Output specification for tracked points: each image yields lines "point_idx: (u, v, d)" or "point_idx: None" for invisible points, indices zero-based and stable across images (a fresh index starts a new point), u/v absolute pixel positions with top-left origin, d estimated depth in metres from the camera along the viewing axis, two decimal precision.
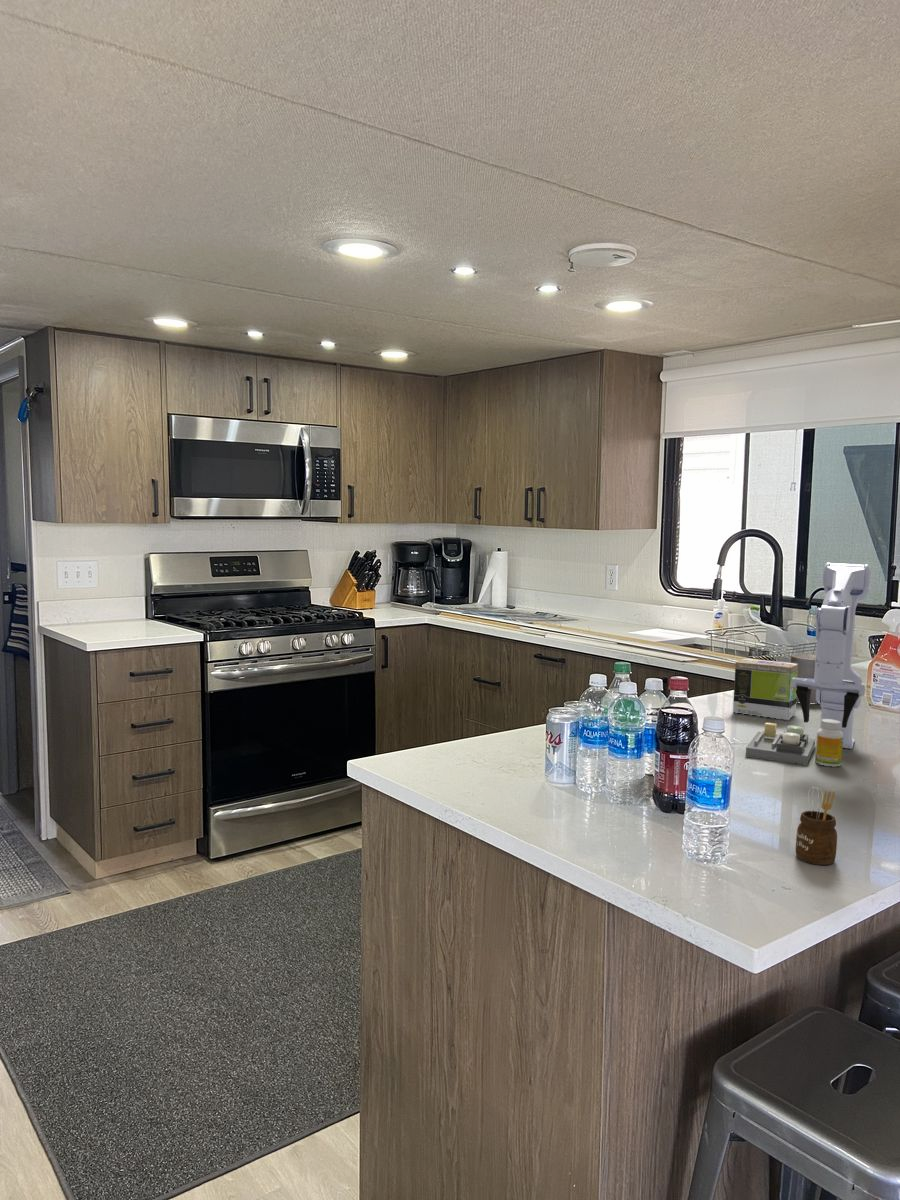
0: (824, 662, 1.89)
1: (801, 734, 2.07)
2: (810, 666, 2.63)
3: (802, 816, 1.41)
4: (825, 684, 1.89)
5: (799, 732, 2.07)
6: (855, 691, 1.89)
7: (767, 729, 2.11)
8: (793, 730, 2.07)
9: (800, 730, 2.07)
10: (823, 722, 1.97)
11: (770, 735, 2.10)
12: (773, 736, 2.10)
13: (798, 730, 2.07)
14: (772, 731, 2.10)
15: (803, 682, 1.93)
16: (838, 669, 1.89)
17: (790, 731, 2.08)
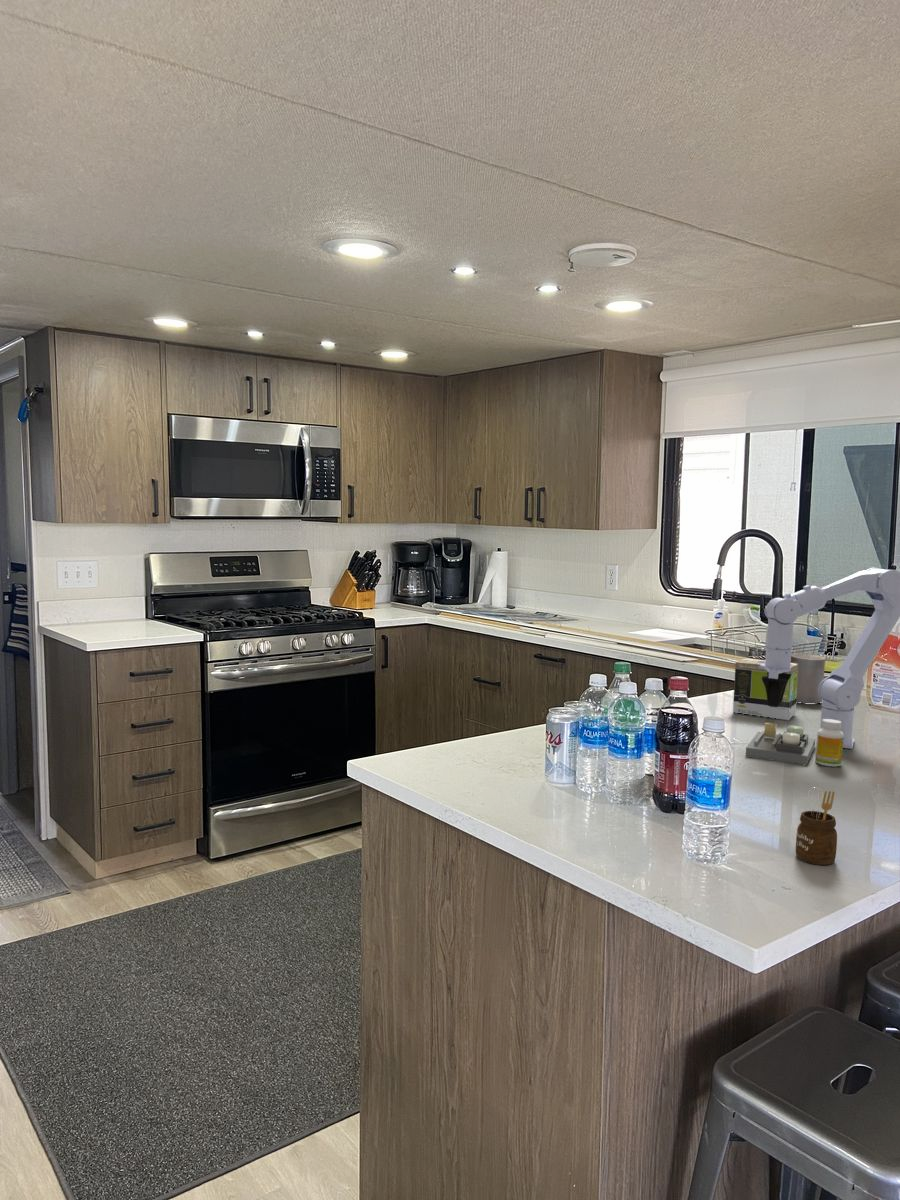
0: None
1: (801, 734, 2.07)
2: (810, 666, 2.63)
3: (802, 816, 1.41)
4: (762, 664, 2.16)
5: (799, 732, 2.07)
6: None
7: (767, 729, 2.11)
8: (793, 730, 2.07)
9: (800, 730, 2.07)
10: (824, 722, 1.97)
11: (770, 735, 2.10)
12: (773, 736, 2.10)
13: (798, 730, 2.07)
14: (772, 731, 2.10)
15: None
16: (768, 653, 2.13)
17: (790, 731, 2.08)
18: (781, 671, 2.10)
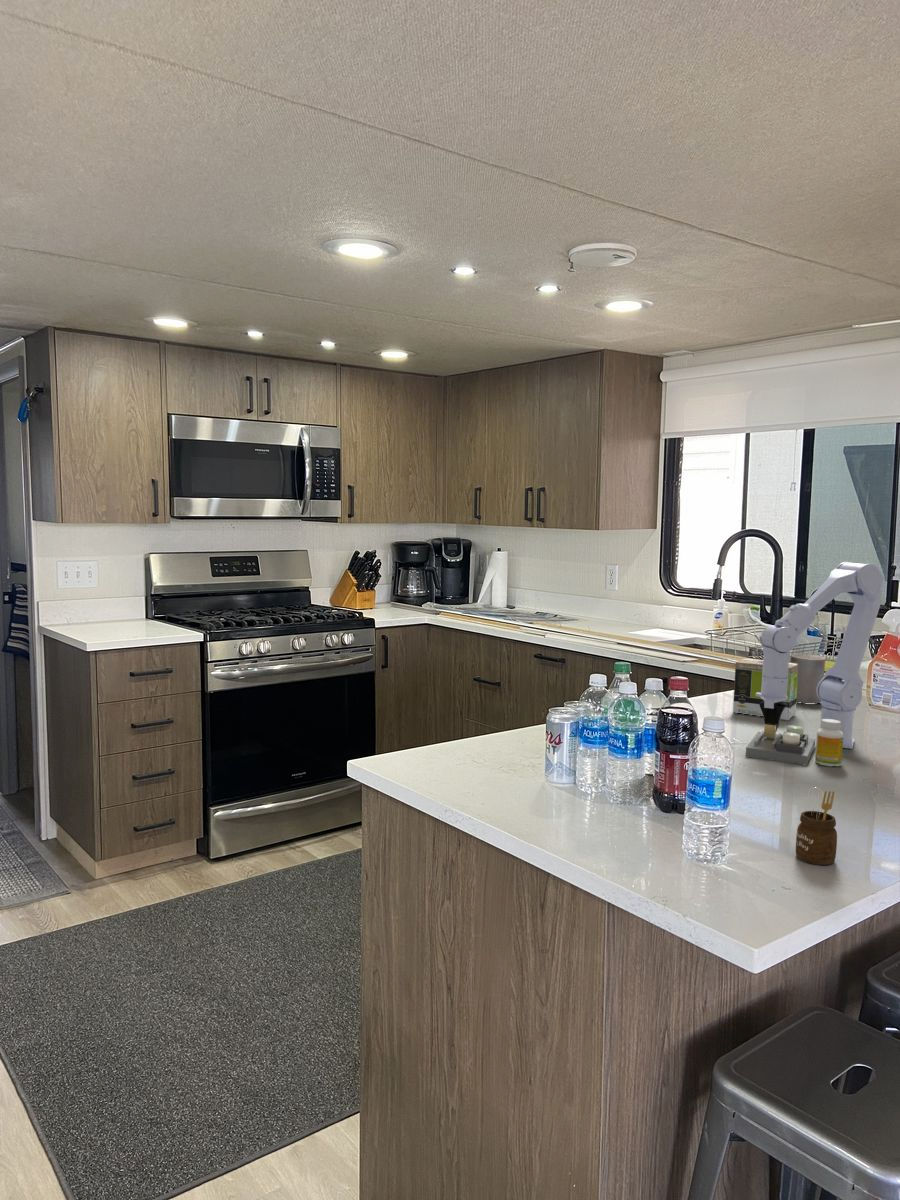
0: None
1: (801, 734, 2.07)
2: (810, 666, 2.63)
3: (802, 816, 1.41)
4: (758, 693, 2.14)
5: (799, 732, 2.07)
6: None
7: (767, 730, 2.10)
8: (793, 730, 2.07)
9: (800, 730, 2.07)
10: (823, 722, 1.97)
11: (770, 735, 2.10)
12: (773, 736, 2.10)
13: (798, 730, 2.07)
14: (771, 731, 2.10)
15: None
16: (764, 681, 2.11)
17: (790, 731, 2.08)
18: (777, 700, 2.07)
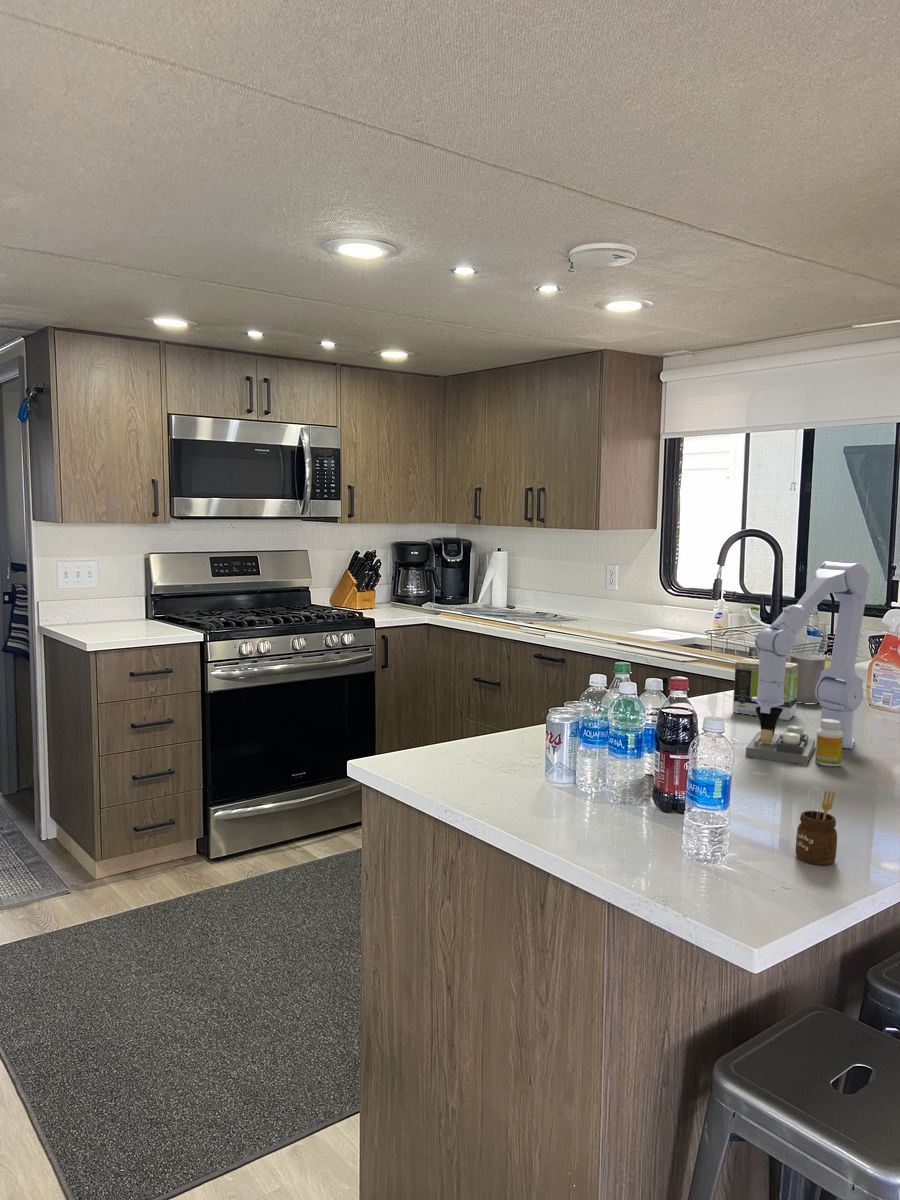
0: None
1: (801, 734, 2.07)
2: (810, 666, 2.63)
3: (802, 816, 1.41)
4: (754, 697, 2.08)
5: (799, 732, 2.07)
6: None
7: (763, 735, 2.05)
8: (793, 730, 2.07)
9: (800, 730, 2.07)
10: (823, 722, 1.97)
11: (766, 741, 2.05)
12: (769, 742, 2.05)
13: (798, 730, 2.07)
14: (768, 736, 2.05)
15: None
16: (760, 685, 2.05)
17: (790, 731, 2.08)
18: (773, 705, 2.02)
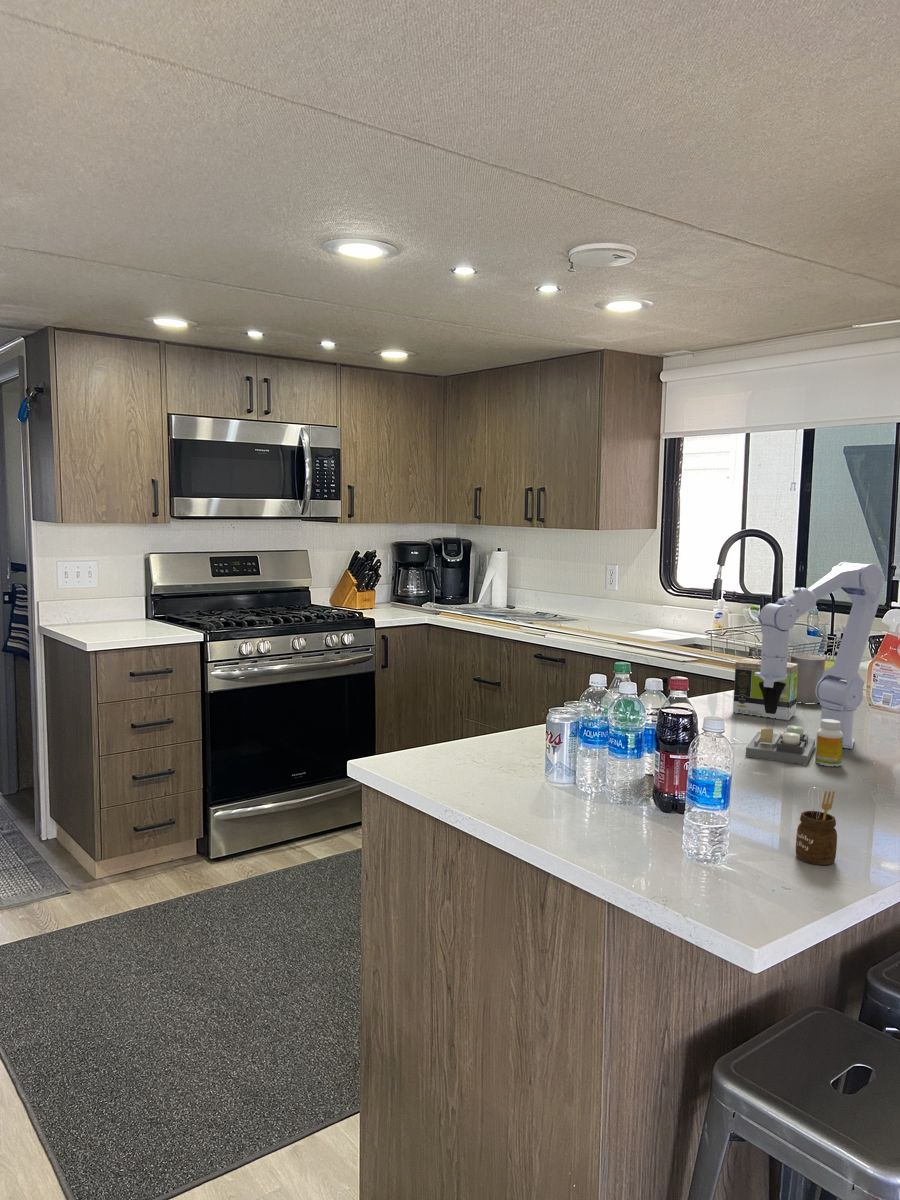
0: None
1: (801, 734, 2.07)
2: (810, 666, 2.63)
3: (802, 816, 1.41)
4: (757, 672, 2.10)
5: (799, 732, 2.07)
6: None
7: (763, 735, 2.05)
8: (793, 730, 2.07)
9: (800, 730, 2.07)
10: (823, 722, 1.97)
11: (766, 740, 2.05)
12: (769, 741, 2.05)
13: (798, 730, 2.07)
14: (768, 736, 2.05)
15: None
16: (764, 660, 2.07)
17: (790, 731, 2.08)
18: (777, 679, 2.03)
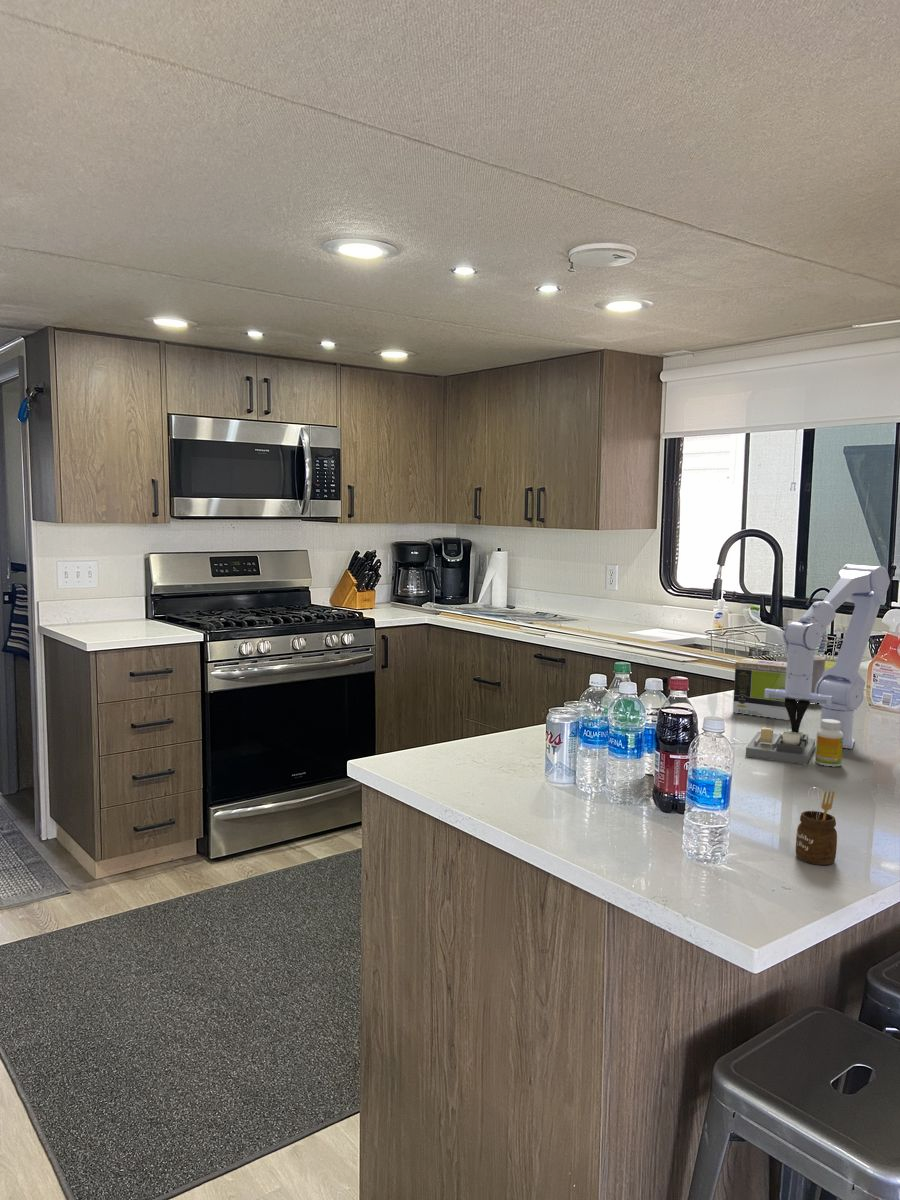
0: (795, 674, 2.05)
1: None
2: None
3: (802, 816, 1.41)
4: (796, 695, 2.05)
5: None
6: (822, 701, 2.05)
7: (763, 735, 2.05)
8: None
9: (800, 734, 2.07)
10: (823, 722, 1.97)
11: (766, 740, 2.05)
12: (769, 741, 2.05)
13: None
14: (768, 736, 2.05)
15: (775, 693, 2.09)
16: (807, 681, 2.05)
17: None
18: None
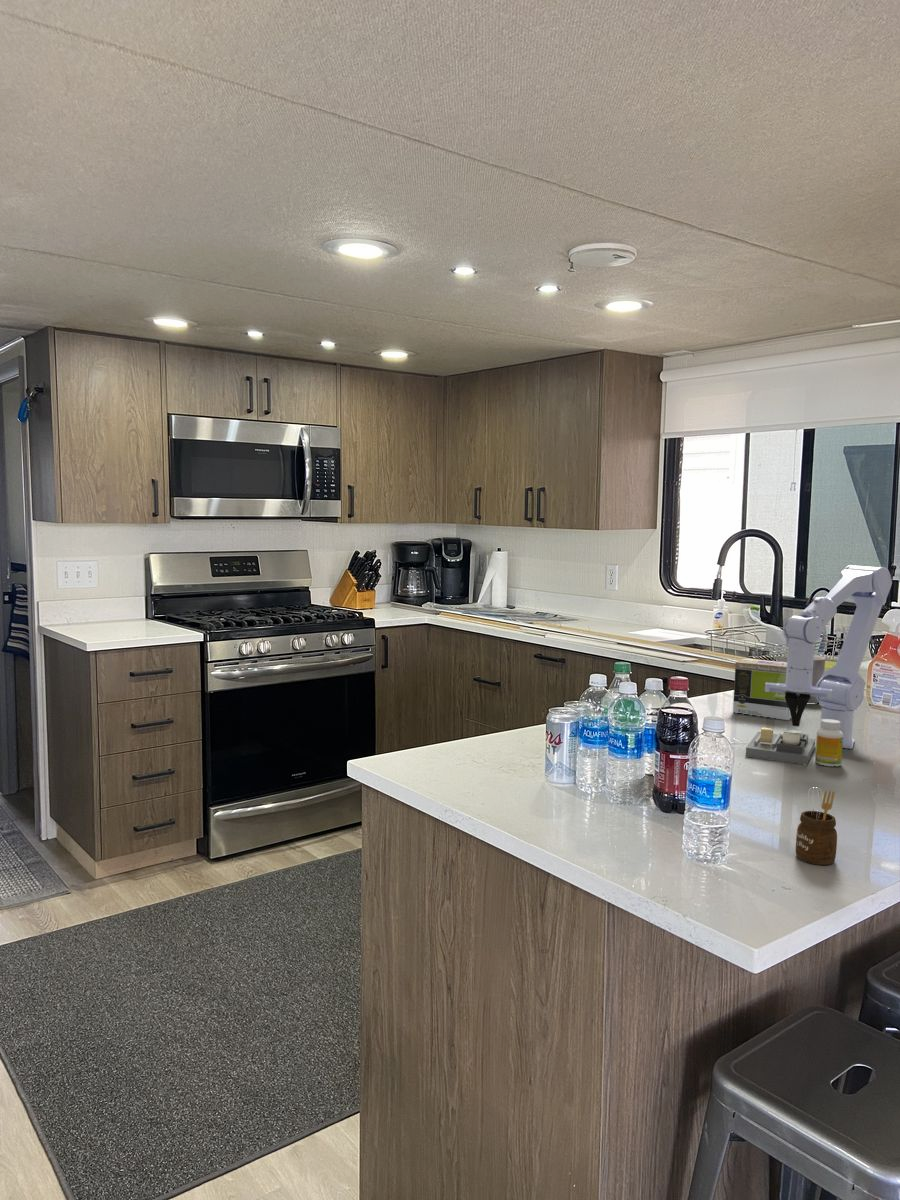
0: (795, 668, 2.05)
1: None
2: None
3: (802, 816, 1.41)
4: (796, 688, 2.05)
5: None
6: (823, 694, 2.05)
7: (763, 735, 2.05)
8: None
9: (800, 735, 2.07)
10: (822, 722, 1.97)
11: (766, 740, 2.05)
12: (769, 741, 2.05)
13: None
14: (768, 736, 2.05)
15: (776, 687, 2.09)
16: (808, 674, 2.05)
17: None
18: None
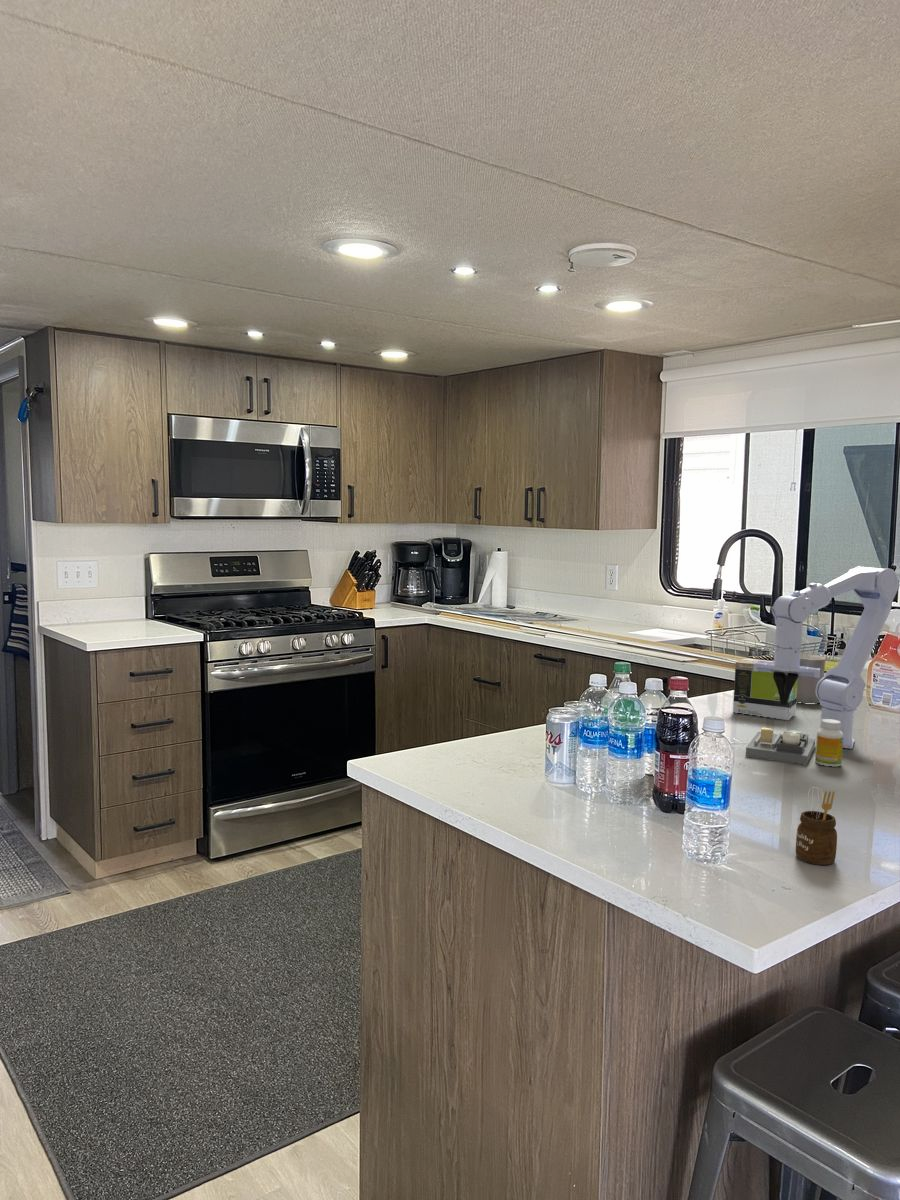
0: (783, 647, 2.07)
1: None
2: (810, 666, 2.63)
3: (802, 816, 1.41)
4: (784, 667, 2.06)
5: None
6: (811, 673, 2.07)
7: (763, 735, 2.05)
8: None
9: (800, 735, 2.07)
10: (823, 722, 1.97)
11: (766, 740, 2.05)
12: (769, 741, 2.05)
13: None
14: (768, 736, 2.05)
15: (764, 666, 2.10)
16: (796, 654, 2.07)
17: None
18: None
